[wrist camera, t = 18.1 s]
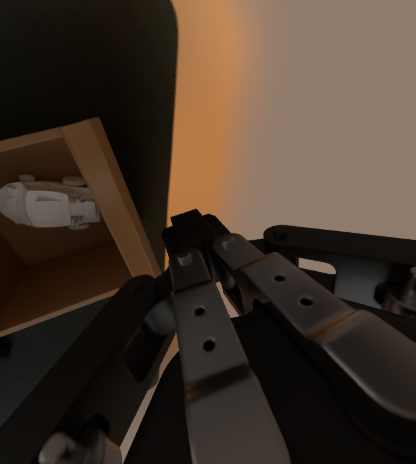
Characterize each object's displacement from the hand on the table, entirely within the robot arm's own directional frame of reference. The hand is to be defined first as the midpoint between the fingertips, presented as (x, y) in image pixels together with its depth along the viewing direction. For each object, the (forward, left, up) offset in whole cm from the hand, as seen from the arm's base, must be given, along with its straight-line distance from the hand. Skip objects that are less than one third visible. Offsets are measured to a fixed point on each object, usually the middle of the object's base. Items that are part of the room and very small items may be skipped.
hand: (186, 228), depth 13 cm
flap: (0, -3, -1) cm, 4 cm away
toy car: (0, -10, -14) cm, 17 cm away
